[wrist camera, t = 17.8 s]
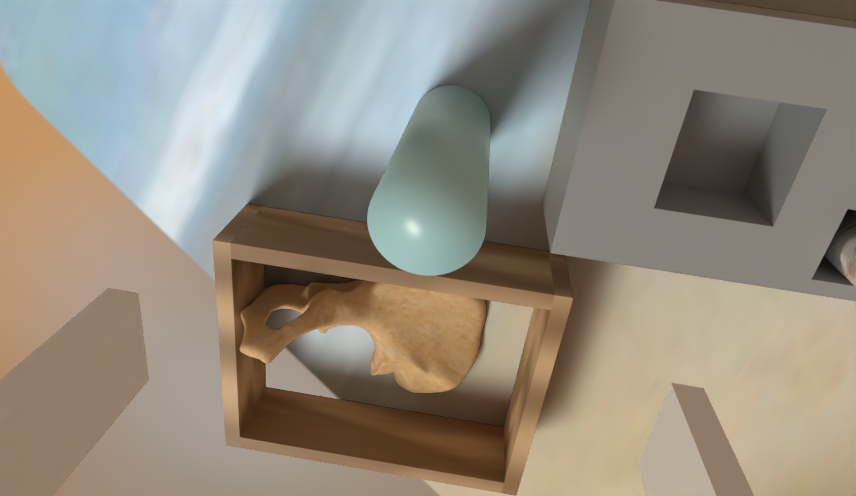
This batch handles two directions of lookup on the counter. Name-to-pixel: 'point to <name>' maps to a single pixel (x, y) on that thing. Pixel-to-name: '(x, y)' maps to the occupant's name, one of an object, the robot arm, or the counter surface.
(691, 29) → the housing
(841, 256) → the plunger
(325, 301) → the bone
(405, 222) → the cartridge
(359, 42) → the counter surface
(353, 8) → the counter surface
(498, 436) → the wooden tray
